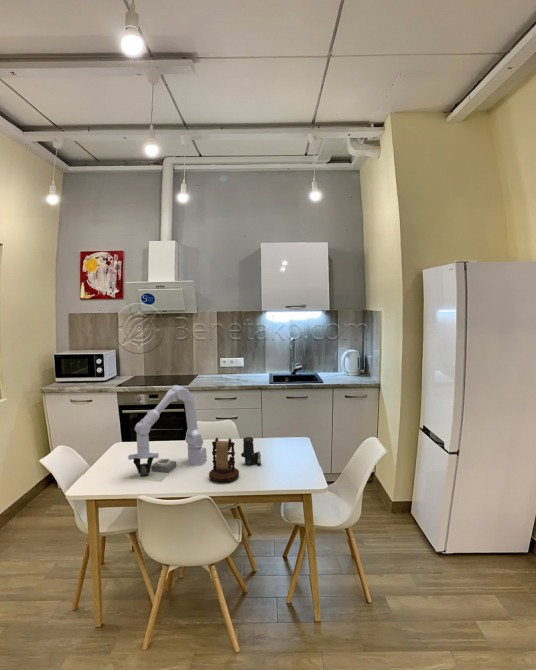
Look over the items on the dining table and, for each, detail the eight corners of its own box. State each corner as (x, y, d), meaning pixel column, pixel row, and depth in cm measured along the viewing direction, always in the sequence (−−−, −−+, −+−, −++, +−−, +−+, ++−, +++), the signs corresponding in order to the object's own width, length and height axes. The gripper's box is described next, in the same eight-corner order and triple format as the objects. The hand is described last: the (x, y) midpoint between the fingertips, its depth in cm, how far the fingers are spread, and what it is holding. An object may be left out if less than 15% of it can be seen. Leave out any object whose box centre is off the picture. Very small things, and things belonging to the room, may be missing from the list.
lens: (150, 473, 210) (149, 463, 209) (145, 477, 206) (145, 466, 206) (143, 473, 211) (142, 462, 210) (138, 476, 207) (138, 465, 207)
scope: (260, 440, 217) (241, 441, 215) (261, 466, 218) (242, 467, 217) (258, 435, 225) (240, 436, 224) (259, 460, 226) (240, 461, 225)
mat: (179, 466, 220) (179, 465, 220) (161, 482, 201) (160, 481, 201) (151, 463, 224) (151, 463, 224) (130, 479, 205) (129, 478, 205)
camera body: (176, 466, 218) (176, 459, 218) (169, 473, 210) (168, 465, 210) (159, 465, 221) (158, 457, 220) (151, 471, 213) (151, 463, 213)
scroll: (205, 483, 199) (203, 442, 197) (214, 470, 214) (213, 432, 212) (235, 484, 197) (233, 443, 195) (242, 472, 211) (241, 433, 209)
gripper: (159, 442, 212) (160, 468, 213) (130, 444, 211) (131, 470, 212) (156, 447, 205) (157, 474, 206) (126, 449, 204) (128, 475, 205)
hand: (144, 472), depth 208 cm, fingers closed on lens, 4 cm apart
